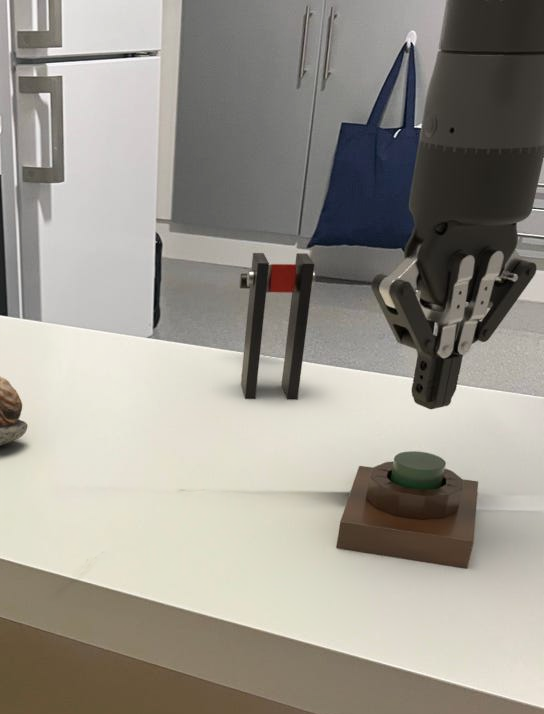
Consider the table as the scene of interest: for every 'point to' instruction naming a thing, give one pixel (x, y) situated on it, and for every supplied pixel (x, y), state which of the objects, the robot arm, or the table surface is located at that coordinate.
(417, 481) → the button
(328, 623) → the table surface
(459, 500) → the button block
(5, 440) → the bison figurine
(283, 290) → the lever
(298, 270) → the bracket
